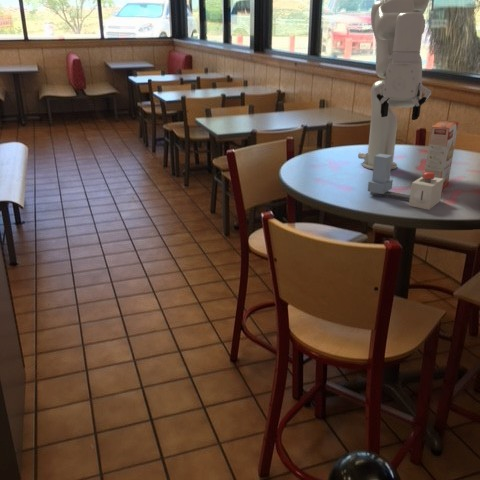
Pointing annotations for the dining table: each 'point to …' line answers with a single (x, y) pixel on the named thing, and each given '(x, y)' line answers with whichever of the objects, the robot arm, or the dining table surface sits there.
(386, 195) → the rail
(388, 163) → the carriage
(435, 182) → the white button housing
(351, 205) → the dining table surface
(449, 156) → the cracker box
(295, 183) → the dining table surface
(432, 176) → the button
